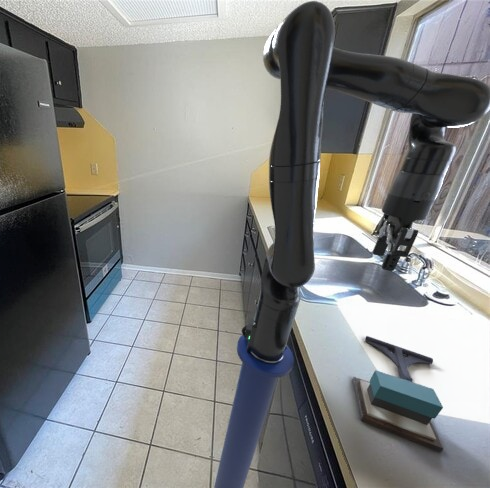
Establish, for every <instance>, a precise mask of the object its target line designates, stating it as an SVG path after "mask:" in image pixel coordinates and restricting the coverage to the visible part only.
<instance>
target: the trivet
mask: <svg viewBox="0 0 490 488" xmlns="http://www.w3.org/2000/svg"><path fill="white" fill-rule="evenodd" d="M351 381H352V386H353V390H354V394H355V400H356V404H357V408H358V409H357V410H358V414H359V418H360V421H361V422H364V423H366V424H369V425H371V426H374V427H376V428H379V429H381V430H383V431H386V432H389V433H391V434H394V435H397V436H399V437H401V438H404V439H406V440H409V441H412V442H414V443H416V444H419V445H421V446H425V447H426V448H429V449H432V450H434V451H437V452H439V453H442V452H443V450H444V449H445V447H444V446H443V443H442V442H441V439H440V437H439V435H438V433H437V431H436V429H435V426H434V425H433V422H432V420H431V421H430V422H429V424H428V425H426V424H423V423H420V422H417V421H415V420H412V419H409V418H407V417H404V416H401V415H399V414H396V413H393V412H390V411H388V410H385V409H382V408H380V407H377V406H374V405H372V404H371V403H370V399H369V395H368V391H367V388H368V387H369V385H370V381H369V380H365V379H363V378H360V377H357V376H353V377H352V378H351Z"/></svg>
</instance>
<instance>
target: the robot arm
mask: <svg viewBox="0 0 490 488" xmlns="http://www.w3.org/2000/svg"><path fill="white" fill-rule="evenodd" d="M335 26H336V25H335V19H334V17H333V14H332V12H331V10H330V9H329V8H328V6H327V5H325V4H324V3H323V2H322V1H321V2H320V1H318V0H310V1H309V0H308V1H306V2H304V3H302V4H300V5H298V6H297V7H296V8H294V9H292V11H290V13H289V14H287V15H286V16H285V18H284V19H283V20H282V21H281V22H280V23H279V24H278V26H277V27H276V28H275V29H273V31H272V32H271V34H269V37H268V38H267V39H266V42H265V44H264V48H263V52H262V62H263V66H264V68H265V70H266V72H267V73H268V74H269V76H271V77H273V78H274V79H277V80H280V81H279V82H280V104H279V114H278V119H277V122H276V127H275V130H274V133H273V137H272V141H271V144H270V145H271V146H270V149H269V157H268V189H269V190H268V191H269V199H270V206H271V211H272V218H273V223H274V242H273V243H271V245H269V247H268V249H267V252H266V254H265V258H264V263H263V267H262V274H261V277H260V278H261V279H260V291H259V296H258V301H257V305H256V309H255V313H254V317H253V318H251V317H250V318H248V320H247V325H245V326H243V327H242V329H241V333H242V335H244V338H249V342H248V347H247V352H248V353H250V354H251V355H252V356H253V357H254V358H256V359H257V360H259V361H261V362H263V363H266V364H277V363H279V362H280V361H281V360H282V358H283V355H284V351H285V350H286V348H287V346H288V345H287V343H288V340H289V337H290V335H291V331H292V328H293V324H294V322H295V318H296V315H297V312H298V309H299V306H300V302H301V287H303V286H305V285H306V284H307V283H308V282H310V281H311V279H312V278H313V275H314V274H315V270H316V261H315V259H316V258H315V243H314V242H315V241H314V240H315V239H314V225H315V218H316V210H317V202H318V191H319V182H320V171H321V160H322V159H321V158H322V157H321V155H322V140H323V139H322V137H323V127H324V126H323V125H324V109H325V100H326V99H325V98H326V92H327V89H329V90H333V91H336V92H339V93H342V94H345V95H349V96H351V97H354V98H358V99H360V100H363V101H366V102H368V103H370V104H373V105H376V106H379V107H381V108H384V109H387V110H390V111H392V112H395V113H400V114H411V116H410V121H409V128H408V137H407V150H406V153H405V155H404V157H403V160H402V161H401V164H400V166H399V170H398V172H397V174H396V175H395V177H394V179H393V181H392V182H391V186H390V188H389V191H388V193H387V196H386V198H385V201H384V203H383V205H382V208H381V212H382V213H383V215H382V218H381V220H380V223H379V224H378V227H377V228H376V231H375V235H376V242H375V245H374V247H373V249H372V254H373V255H374V256H378V257H379V256H380V257H383V256H384V255H385V257H384V259H383V262H382V264H381V269H382V270H384V271H388V272H394V271H395V269H396V267H397V265H398V263H399V261H400V259H401V257H402V258H408V257H409V254H410V252H411V250H412V248H413V245H414V243H415V241H416V238H417V237H418V235H419V230H418V229H414V228H413V223H414V222H416V221H424V220H426V219H427V218H428V216H429V213H430V211H431V209H432V207H433V205H434V203H435V201H436V199H437V197H438V195H439V192H440V190H441V188H442V185H443V182H444V179H445V176H446V174H447V171H448V170H449V168H450V165H451V163H452V161H453V159H454V157H455V155H456V153H457V145H456V144H455V143H453V142H450V141H447V140H446V139H445V135H446V134H445V133H446V128H460V127H461V128H462V127H465V126H468V125H471V124H472V125H473V124H474V123H476V122H478V121H479V120H481V119H482V118H484V117H485V116H486V115H487V114H488V113H489V112H490V85H489V84H487V83H486V82H484V81H482V80H480V79H477V78H473V77H468V76H462V75H456V74H451V73H441V72H436V71H432V70H430V69H428V68H425V67H424V66H420V65H418V64H416V63H413V62H411V61H409V60H405V59H403V58H399V57H394V56H387V55H381V54H371V53H361V52H354V51H348V50H344V49H340V48H337V47H335V46H334V45H335V37H336V29H335V28H336V27H335ZM386 251H387V253H386ZM385 253H386V254H385ZM286 345H287V346H286Z"/></svg>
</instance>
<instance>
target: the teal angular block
mask: <svg viewBox="0 0 490 488" xmlns="http://www.w3.org/2000/svg"><path fill="white" fill-rule="evenodd" d="M369 382H370V385H369V387H368V388H367V391H368V395H369V399H370V403H371V404H372V405H374V406H377V407H380V408H382V409H385V410H388V411H390V412H393V413H396V414H399V415H401V416H404V417H407V418H409V419H412V420H415V421H417V422H420V423H423V424H426V425H428V424H429V422H430V421H431V422H432V419H434V420H435V419H436V418H437V417H438V415H439V414H440V412H442V410H443V409H444V406H443V404H442V402H441V401H440V399H439V397H438V394H437V393H436V391H435V389H434V388H432V387H428V386H426V385H423V384H420V383H416V382H410V381H407V380H404V379H401V378H400V377H398V376H396V375H391V374H389V373H386V372H383V371H380V370H376V369H375V370H374V371H373V374H372V375H371V376H370V379H369Z"/></svg>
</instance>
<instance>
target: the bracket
mask: <svg viewBox="0 0 490 488" xmlns="http://www.w3.org/2000/svg"><path fill="white" fill-rule="evenodd" d="M364 341H365V343H366V342H367V343H368V344H370V345H372V346H374V347H376V349H378V350H379V351H381V352H383V353H384V354H385V355H387V356H388V358H389V359H391V360H392V362H393V363H394V364H395V366H396V368H397V372H398V376H399V377H398V378H401V379H404V380H407V381H410V382H413V381H414V380H413V379H414V378H413V377H412V376H411V375H410V373H409V371H408V369H409V367H410V366H411V365H413V364H426V365H433V363H434V359H433V358H432V357H430V356H427V355H424V354H421V353H419V352H415V351H413V350H409V349H406V348H403V347H401V346H398V345H395V344H392V343H390V342H386V341H384V340H381V339H377V338H375V337H372V336H369V335H366V336H365V338H364ZM406 356H407V357H406ZM413 383H414V382H413Z"/></svg>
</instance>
